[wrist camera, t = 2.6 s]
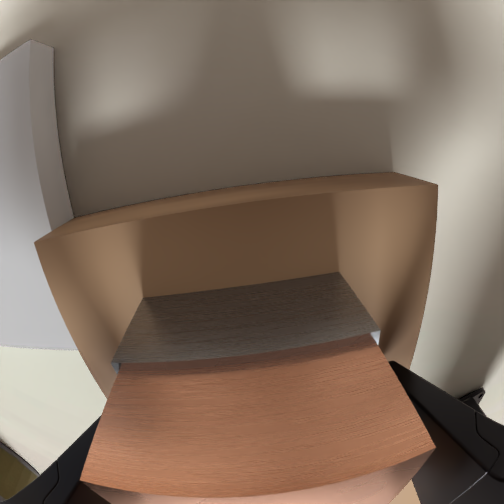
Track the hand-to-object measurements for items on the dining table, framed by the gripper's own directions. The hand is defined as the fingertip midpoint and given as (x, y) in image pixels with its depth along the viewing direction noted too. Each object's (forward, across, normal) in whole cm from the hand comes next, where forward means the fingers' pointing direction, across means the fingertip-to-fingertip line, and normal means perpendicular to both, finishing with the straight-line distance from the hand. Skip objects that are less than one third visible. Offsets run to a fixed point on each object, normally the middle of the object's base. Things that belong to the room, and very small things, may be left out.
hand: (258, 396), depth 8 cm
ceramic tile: (+3, +11, -6) cm, 13 cm away
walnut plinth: (+3, 0, 0) cm, 3 cm away
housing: (+1, 0, 0) cm, 1 cm away
